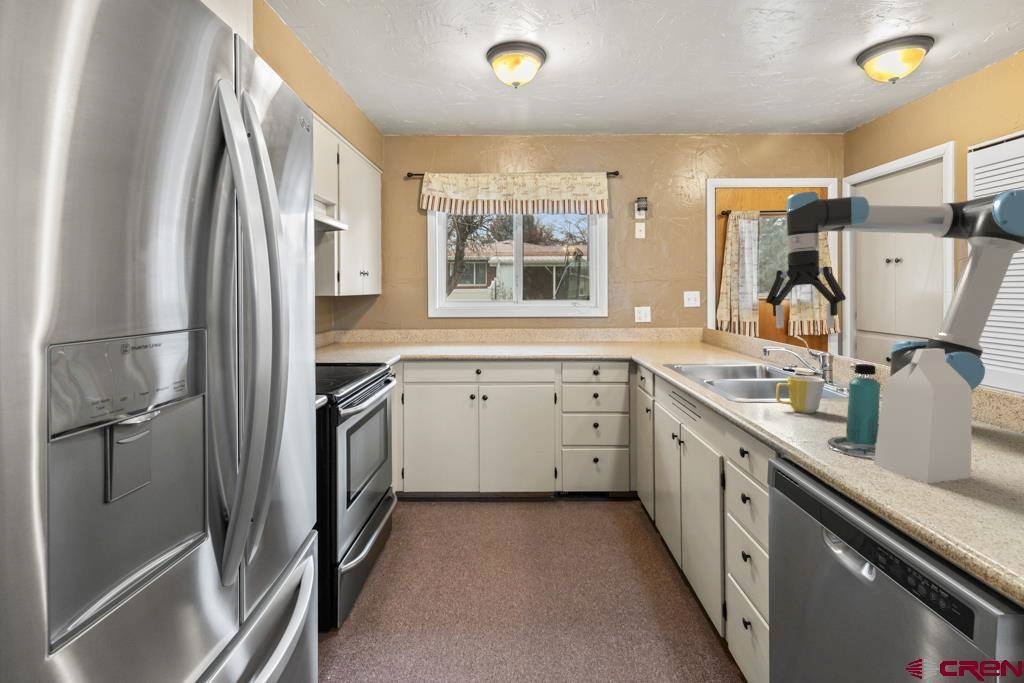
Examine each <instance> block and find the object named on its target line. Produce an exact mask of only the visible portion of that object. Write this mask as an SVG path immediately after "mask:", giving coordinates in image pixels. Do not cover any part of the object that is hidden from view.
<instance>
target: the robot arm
mask: <svg viewBox="0 0 1024 683" xmlns="http://www.w3.org/2000/svg"><path fill="white" fill-rule="evenodd" d="M818 195H819V194H818V192H816V191H803V192H796V193H793V194H791V195H789V196H788V197H787V200H786V226H787V227H786V228H787V229H786V230H787V231H786V232H787V251H789V252H788V253H787V267H788V268H787V270H783V269H781V270H777V271H776V276H775V279H774V282H773V284H772V286H771V289H770V291H769V293H768V295H767V298H766V300H765V302H766V303H767V304H770V305H772V316H773V317H775V323H776V324H775V327H776V329H784V328H785V326H784V325H785V324H784V323H785V322H784V321H785V320H784V319H785V318H784V304H782V302H784V300H785V299H786V297H787V296H788V295H789V294H790V293H791V291H792V290H793V288H795V287H796V286H803V285H804V286H806V285H812V286H813V287H815V289H817V291H818V292H819V293H820V294H821V295H822V296H823V297H824V298H825V299H826V300H827V301H828V302H829V303H826V304H825V305H826V310H825V311H826V329H835V316H838V314H839V312H838V307H839V306H838V305H839V303H840V302H842V301H845V300H846V299H847V297H846V295H845V294H844V292H843V290H842V288H841V287H840V284H839V283H838V281H837V279H836V278H835V276H834V273H833V268H832V266H823V267H820V266H819V264H820V256H819V254H820V251H819V250H818V249H819V248H820V244H819V242H820V240H819V233H822V232H853V233H854V232H857V233H859V232H860V233H894V234H898V233H899V234H931V235H932V236H933V237H934V238H943V239H944V238H945V239H957V240H966V241H967V242H968V243H969V245H970V251H969V254H968V257H967V260H966V262H965V264H964V267H963V269H962V272H961V275H960V277H959V280H958V283H957V285H956V288H955V290H954V293H953V296H952V297H951V300H950V302H949V305H948V309H947V310H946V313H945V316H944V318H943V322H942V323H941V326H940V328H939V331H938V332H937V333H936V334H934V335H932V336H929V338H928V340H909V341H907V340H906V341H905V340H904V341H902V340H900V341H896V342H894V343H893V345H892V350H891V354H890V355H891V359H890V371H889V372H890V373H889V374H890V376H889V377H891V376H892V375H894V374H895V373H896V372H898V371H899V370H901V369H902V368H904V367H905V366H906V365H908V364H909V363H911V361H912V358H913V356H914V354H915V352H916V349H936V348H938V349H944V351H945V356H946V362H947V363H948V364H949V365H950V366H951V367H952V368H953V369H954V370H955V371H956V372H957V373H958V374H959V375H960V376H961V377H962V378H963V379H964V380H965V381H966V382H967V383H968V384H969V386H970V387H971V390H972V391H973V390H975V389H976V388H977V387H979V386H980V384H981V383H982V382H983V380H984V378H985V376H986V375H985V374H986V367H985V366H984V364H983V361H982V360H981V357H982V354H983V352H984V349H983V347H982V345H980V343H979V342H980V340H981V337H982V335H983V332H984V330H985V327H986V324H987V322H988V320H989V318H990V314H991V312H992V309H993V307H994V304H995V302H996V299H997V297H998V295H999V291H1000V289H1001V287H1002V285H1003V282H1004V279H1005V276H1006V274H1007V272H1008V270H1009V267H1010V264H1011V261H1012V259H1013V256H1014V254H1015V253H1018V252H1020V251H1022V250H1024V189H1014V190H1012V189H1011V190H1010V189H1009V190H1005V191H1002V192H1000V193H996V194H991V195H987V196H982V197H979V198H974V199H969V200H964V201H959V202H942V203H940V204H939V205H937V206H933V205H932V206H928V205H927V206H925V205H923V206H921V205H920V206H919V205H869V201H868V199H867V198H866V196H865V197H864V196H852V195H851V196H846V197H837V198H824V199H822V198H819V196H818ZM820 274H821V275H822V276H823V277H824V279H825V281H826V282H827V285H828V286H829V288H828V287H827V286H826V285H825V284H824V283H823V282H822V280H821V279H820V278H819V275H820ZM787 277H788V278H789V279H788V281H787V282H786V283H785V286H784V287H783V288H782V289H781V287H782V285H783V283H784V282H785V281H784V280H785V278H787ZM829 289H830V290H831V291H832V292H831V291H830V290H829ZM780 290H781V291H780Z"/></svg>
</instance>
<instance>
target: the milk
mask: <svg viewBox="0 0 1024 683" xmlns="http://www.w3.org/2000/svg"><path fill="white" fill-rule="evenodd" d="M882 390H883V391H882V398H881V403H880V404H881V406H880V411H879V416H880V417H879V421H878V424H879V427H878V435H877V442H876V450H875V458H874V459H873V466H874V465H876V466H875V467H877V466H879V467H878V468H880V467H881V468H880V469H883V468H884V469H883V470H886V469H887V470H886V471H888V470H889V472H891V471H892V473H894V472H895V474H897V473H898V474H897V475H900V474H901V475H900V476H903V475H904V477H906V476H908V477H907V478H909V477H910V478H909V479H912V478H913V479H912V480H915V479H916V480H915V481H918V480H920V481H919V482H921V481H922V482H921V483H923V482H925V483H924V484H926V483H929V484H934V483H933V482H936V483H942V482H941V481H944V482H950V481H949V480H951V481H957V480H958V479H959V480H965V479H971V476H972V424H973V423H972V417H973V416H972V412H973V392H972V391H973V390H971V387H970V386H969V384H968V383H967V382H966V381H965V380H964V379H963V378H962V377H961V376H960V375H959V374H958V373H957V372H956V371H955V370H954V369H953V368H952V367H951V366H950V365H949V364H948V363H947V362H946V356H945V351H944V349H938V348H936V349H916V352H915V354H914V356H913V358H912V361H911V363H909V364H908V365H906V366H905V367H904V368H902V369H901V370H899V371H898V372H896V373H895V374H894V375H892V376H891V377H890V376H888V378H887V379H886V381H885V382H884V385H883V389H882ZM959 480H958V481H959Z"/></svg>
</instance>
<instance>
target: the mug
mask: <svg viewBox="0 0 1024 683" xmlns="http://www.w3.org/2000/svg"><path fill="white" fill-rule="evenodd" d="M825 383H826V380H825V379H823V378H822V377H821V378H820V377H815V376H814V377H813V376H802V375H796V376H795V375H794V376H792V375H791V376H787V382H779V383H777V384H776V389H775V390H776V391H775V399H776V402H778V403H779V404H783V405H790V407H791V408H792V409H793V410H794V412H797V413H800V414H801V413H802V414H814V413H816V411H818V410H819V408H820V405H821V401H822V395H823V391H824V387H825ZM782 386H783V387H787V388H788V393H789V401H786V400H785V401H783V400H781V399H780V389H781V387H782Z"/></svg>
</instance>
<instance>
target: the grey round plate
mask: <svg viewBox="0 0 1024 683" xmlns="http://www.w3.org/2000/svg"><path fill="white" fill-rule="evenodd" d="M826 445H827V448H828V447H829V448H828V449H830V450H831V449H832V451H834V452H836V451H837V452H836V453H839V452H840V454H842V453H843V455H846V454H847V456H850V455H852V457H855V456H858V458H862V457H865V458H864V459H870V458H875V450H876V444H873V445H865V444H858V443H853V442H850V441H848V440H847V436H835V437H831V438H829V439H828V440H827V444H826Z"/></svg>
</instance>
